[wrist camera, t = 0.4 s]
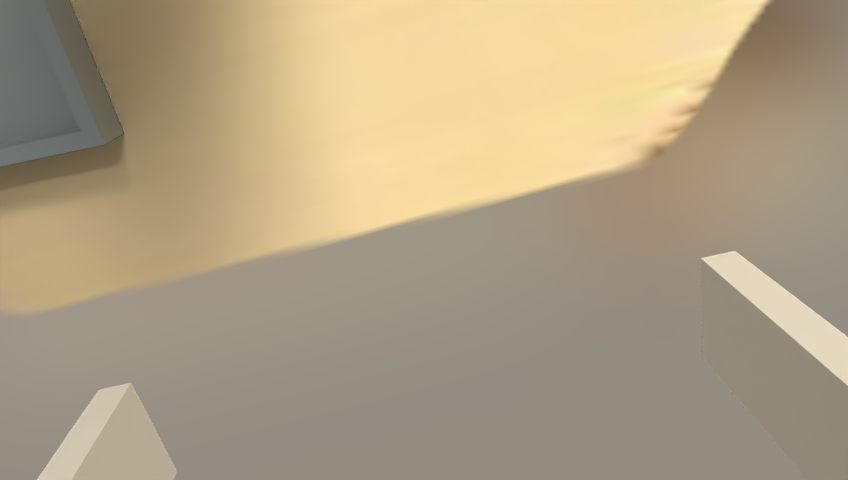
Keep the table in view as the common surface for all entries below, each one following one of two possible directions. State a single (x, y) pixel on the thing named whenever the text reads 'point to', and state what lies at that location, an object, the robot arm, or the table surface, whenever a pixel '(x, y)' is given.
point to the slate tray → (49, 84)
